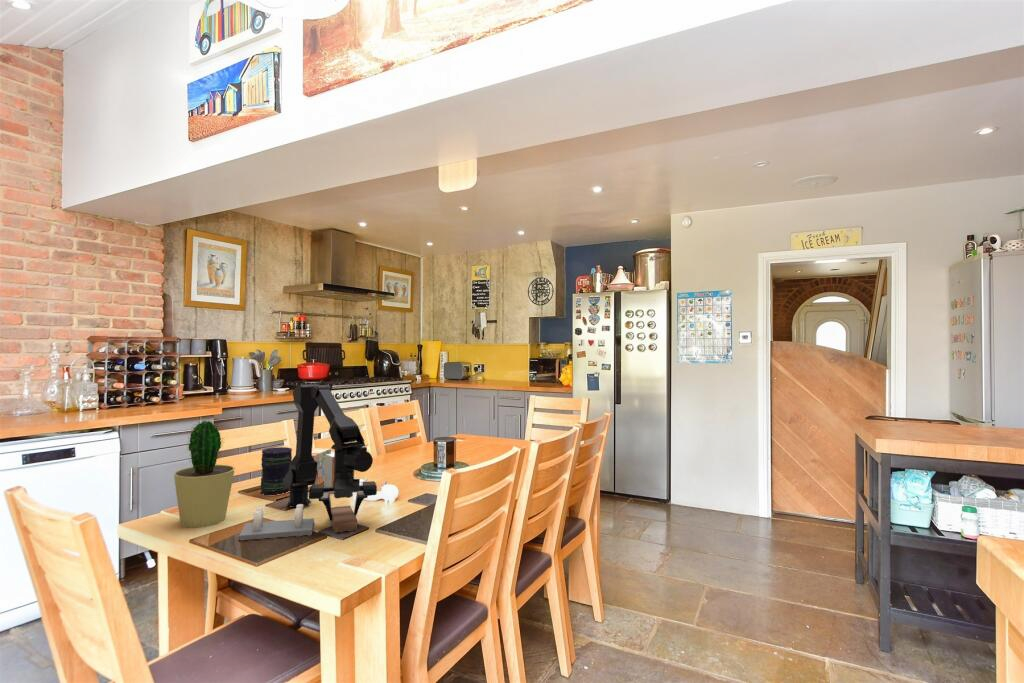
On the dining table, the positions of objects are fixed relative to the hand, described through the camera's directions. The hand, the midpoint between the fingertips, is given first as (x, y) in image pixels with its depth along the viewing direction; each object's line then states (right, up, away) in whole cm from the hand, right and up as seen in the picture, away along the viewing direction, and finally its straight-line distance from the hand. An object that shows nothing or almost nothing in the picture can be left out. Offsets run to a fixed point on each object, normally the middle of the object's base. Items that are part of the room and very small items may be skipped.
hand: (342, 519), depth 148 cm
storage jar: (-34, -2, +31) cm, 46 cm away
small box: (-14, -2, +35) cm, 38 cm away
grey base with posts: (-16, -1, -7) cm, 17 cm away
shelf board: (0, -1, 0) cm, 1 cm away
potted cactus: (-41, -1, 0) cm, 41 cm away
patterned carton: (-25, -2, +48) cm, 54 cm away
